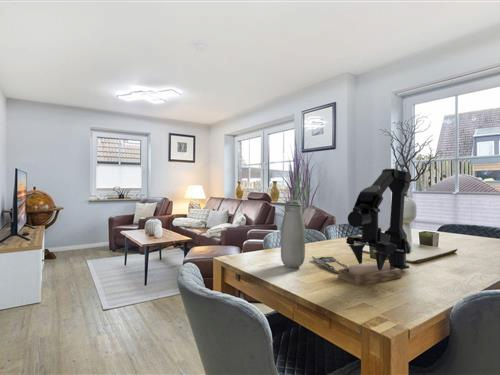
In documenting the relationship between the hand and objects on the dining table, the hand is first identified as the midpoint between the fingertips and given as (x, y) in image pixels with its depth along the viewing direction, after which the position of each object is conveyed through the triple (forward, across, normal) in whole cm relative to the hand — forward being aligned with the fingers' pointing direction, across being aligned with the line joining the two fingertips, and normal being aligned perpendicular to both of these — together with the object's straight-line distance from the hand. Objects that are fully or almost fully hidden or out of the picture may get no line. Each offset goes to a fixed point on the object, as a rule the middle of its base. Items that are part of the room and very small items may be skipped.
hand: (369, 266), depth 109 cm
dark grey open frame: (+5, +18, +2) cm, 19 cm away
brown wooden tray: (+4, 0, 0) cm, 4 cm away
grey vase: (+4, +24, +18) cm, 30 cm away
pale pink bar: (+3, 0, 0) cm, 3 cm away
